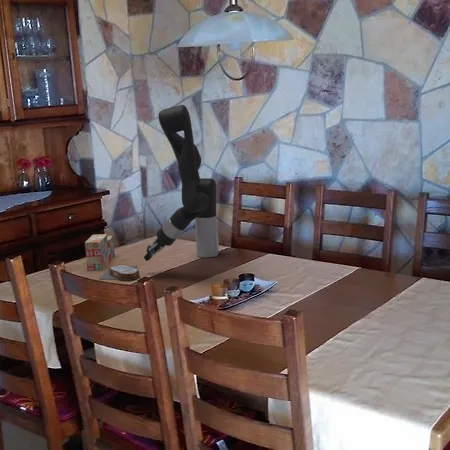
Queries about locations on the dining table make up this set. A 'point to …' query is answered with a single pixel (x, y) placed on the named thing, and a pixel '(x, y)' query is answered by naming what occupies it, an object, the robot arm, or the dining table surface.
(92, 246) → the stack of blocks
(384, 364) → the dining table surface
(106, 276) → the mat
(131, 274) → the tin
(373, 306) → the dining table surface
